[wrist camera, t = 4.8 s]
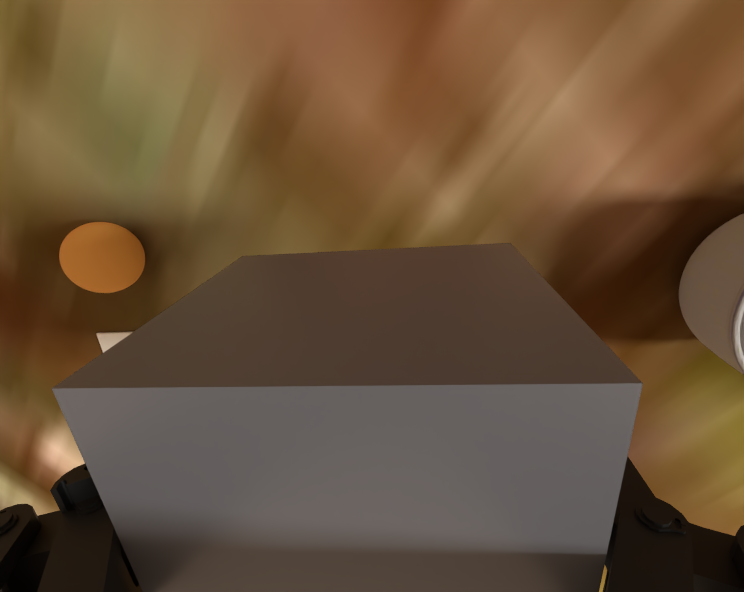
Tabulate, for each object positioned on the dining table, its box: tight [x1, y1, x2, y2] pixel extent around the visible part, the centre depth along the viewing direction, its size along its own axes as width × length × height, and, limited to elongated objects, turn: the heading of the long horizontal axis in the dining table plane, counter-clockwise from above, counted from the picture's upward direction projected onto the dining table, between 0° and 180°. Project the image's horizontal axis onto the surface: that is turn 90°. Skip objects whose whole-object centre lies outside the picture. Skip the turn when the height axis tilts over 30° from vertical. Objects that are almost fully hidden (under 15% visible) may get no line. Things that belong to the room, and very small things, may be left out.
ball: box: [59, 222, 145, 293], centre depth 28 cm, size 5×5×5 cm
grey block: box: [52, 243, 643, 592], centre depth 13 cm, size 10×10×9 cm
